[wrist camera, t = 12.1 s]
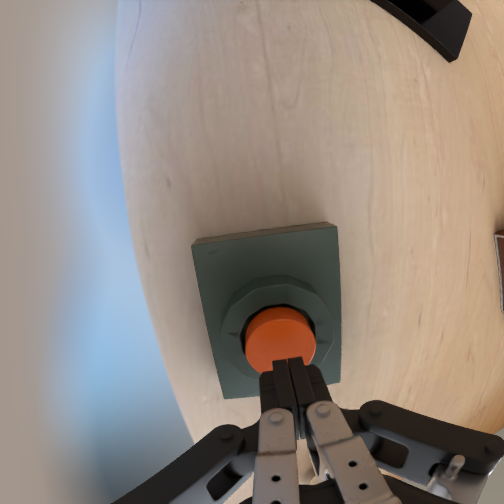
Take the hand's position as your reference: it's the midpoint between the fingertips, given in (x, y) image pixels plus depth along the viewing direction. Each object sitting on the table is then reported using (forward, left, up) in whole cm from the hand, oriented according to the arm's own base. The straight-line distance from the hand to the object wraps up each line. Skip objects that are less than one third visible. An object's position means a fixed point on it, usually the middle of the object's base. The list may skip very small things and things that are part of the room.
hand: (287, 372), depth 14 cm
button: (0, 0, -4) cm, 4 cm away
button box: (0, 0, -8) cm, 8 cm away
